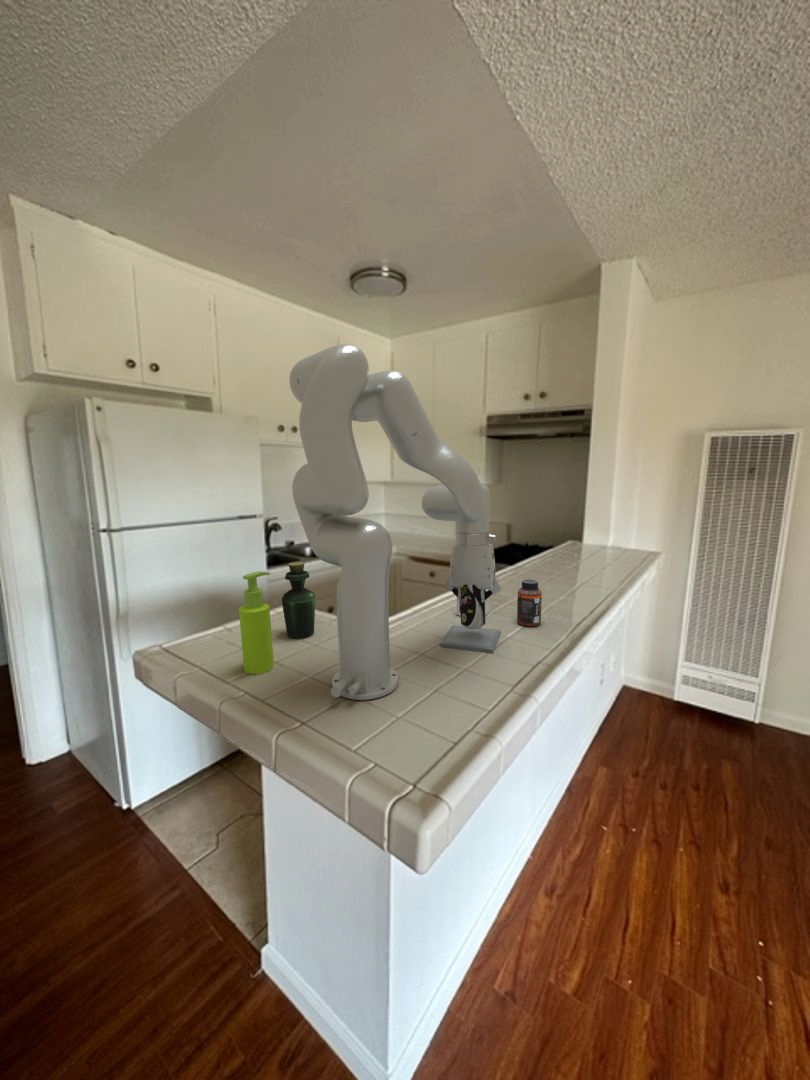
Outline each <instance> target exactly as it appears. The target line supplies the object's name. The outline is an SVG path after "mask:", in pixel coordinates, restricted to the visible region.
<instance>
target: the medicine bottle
mask: <svg viewBox="0 0 810 1080" xmlns="http://www.w3.org/2000/svg"><path fill="white" fill-rule="evenodd" d="M487 590H489V589H486V591H487ZM490 612H491V596H490V597H489V598H488V599H486V600H485V617H486V616H487V615H488V614H489V613H490ZM457 615H459V617H461V612H460V601H459V600H458V598H457V597H456V616H457Z"/></svg>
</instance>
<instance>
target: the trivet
mask: <svg viewBox="0 0 810 1080" xmlns="http://www.w3.org/2000/svg"><path fill="white" fill-rule="evenodd" d="M501 631H502V630H501V629H491V628H486V627H485V628H482V627H481V628H479V629H468V628H466V627H464V626H463V625H456V624H452V625H451V627H450V628H449V629H448V630H447V633H446V634H445V635H444V637H443V638H442V640H441V642H440V643H439V647H440V648H442V647H443V648H449V649H456V650H457V649H458V650H465V651H473V652H481V653H490V654H494V652H495V649H496V647H497V644H498V642H499V639H500V636H501V634H502V632H501Z"/></svg>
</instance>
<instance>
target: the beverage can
mask: <svg viewBox="0 0 810 1080" xmlns="http://www.w3.org/2000/svg"><path fill="white" fill-rule="evenodd" d="M484 593H485V590H484ZM460 597H461V601H460V607H461V616H460V624H461V626H464V627H466V628H468V629H479V628H482V627H484V626H485V625H486V616H485V601H484V614H483V603H482V601H481V600H482V598H481V589H478V588H477V587H476V586H475V585H473V584H465V585H463V587H462V588H461V596H460Z"/></svg>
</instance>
